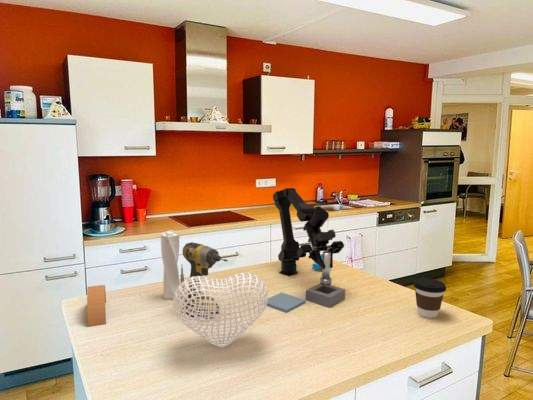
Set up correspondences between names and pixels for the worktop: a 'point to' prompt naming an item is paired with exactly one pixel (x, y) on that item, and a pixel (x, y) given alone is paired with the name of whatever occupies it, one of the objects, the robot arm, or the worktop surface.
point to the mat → (284, 302)
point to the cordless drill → (200, 268)
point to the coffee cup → (429, 296)
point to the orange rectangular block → (96, 305)
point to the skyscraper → (171, 263)
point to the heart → (219, 282)
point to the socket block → (325, 295)
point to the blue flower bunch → (316, 266)
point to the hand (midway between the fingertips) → (328, 268)
